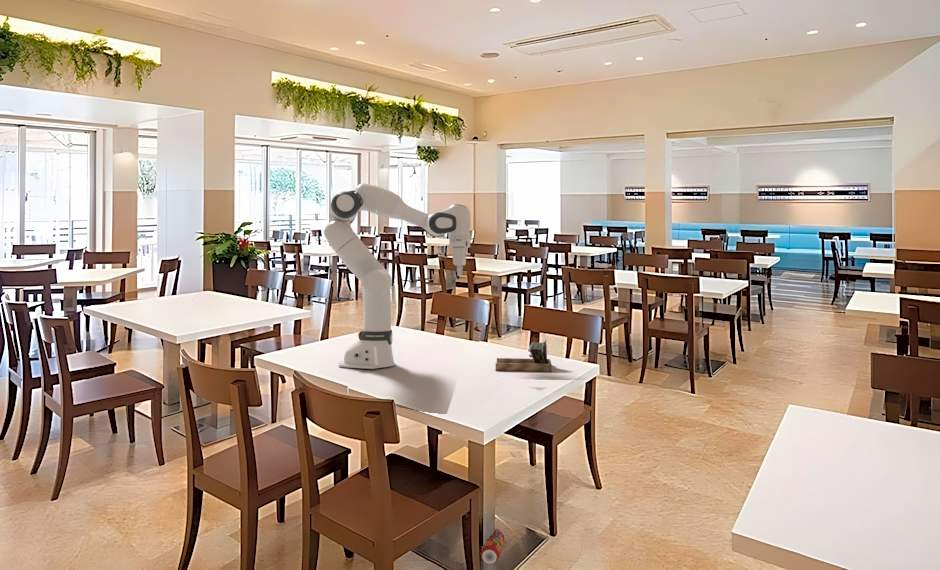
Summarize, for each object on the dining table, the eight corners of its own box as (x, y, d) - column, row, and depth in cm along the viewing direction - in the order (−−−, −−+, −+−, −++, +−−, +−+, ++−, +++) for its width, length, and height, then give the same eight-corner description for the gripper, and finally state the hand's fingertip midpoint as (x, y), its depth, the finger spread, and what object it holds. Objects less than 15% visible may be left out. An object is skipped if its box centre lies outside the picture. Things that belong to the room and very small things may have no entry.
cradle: (495, 370, 245) (495, 363, 244) (496, 365, 259) (496, 358, 258) (551, 372, 243) (551, 364, 243) (549, 366, 257) (549, 359, 257)
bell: (531, 365, 258) (531, 336, 258) (547, 366, 256) (548, 337, 256) (525, 369, 249) (526, 339, 249) (542, 370, 247) (543, 340, 247)
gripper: (454, 244, 271) (454, 275, 271) (449, 242, 250) (449, 276, 251) (469, 244, 270) (469, 275, 271) (465, 242, 250) (465, 276, 250)
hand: (459, 276), depth 261 cm, fingers closed
